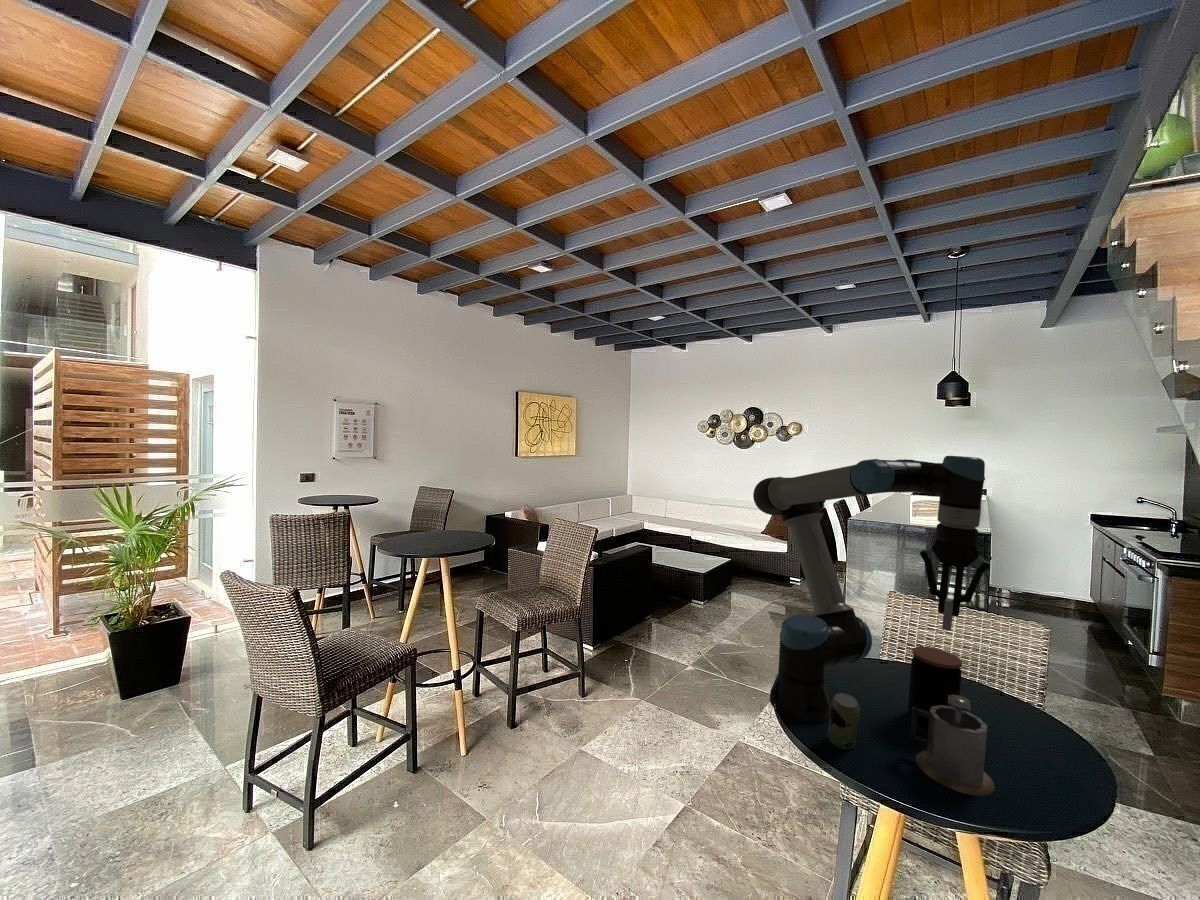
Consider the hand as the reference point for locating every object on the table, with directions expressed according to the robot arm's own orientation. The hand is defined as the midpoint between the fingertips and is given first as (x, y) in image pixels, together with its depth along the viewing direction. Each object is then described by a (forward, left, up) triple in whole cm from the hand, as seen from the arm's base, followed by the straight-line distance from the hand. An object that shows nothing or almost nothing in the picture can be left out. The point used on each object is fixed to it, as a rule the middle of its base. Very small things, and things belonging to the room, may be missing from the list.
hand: (946, 628), depth 109 cm
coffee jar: (-3, +17, -31) cm, 36 cm away
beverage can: (-18, -9, -31) cm, 37 cm away
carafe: (+2, -3, -30) cm, 30 cm away
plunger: (+3, -3, -27) cm, 27 cm away
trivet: (+3, -2, -31) cm, 31 cm away
